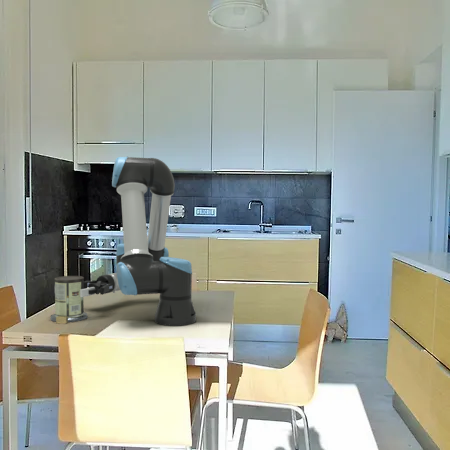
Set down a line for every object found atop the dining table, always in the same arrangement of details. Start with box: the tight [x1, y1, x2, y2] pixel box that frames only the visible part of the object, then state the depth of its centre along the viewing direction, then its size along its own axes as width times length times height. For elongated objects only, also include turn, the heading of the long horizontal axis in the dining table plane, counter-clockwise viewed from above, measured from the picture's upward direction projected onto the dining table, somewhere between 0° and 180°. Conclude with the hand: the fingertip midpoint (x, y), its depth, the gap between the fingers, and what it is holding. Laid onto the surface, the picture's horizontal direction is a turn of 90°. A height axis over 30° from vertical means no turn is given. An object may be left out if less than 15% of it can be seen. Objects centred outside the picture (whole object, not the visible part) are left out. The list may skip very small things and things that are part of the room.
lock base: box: [50, 311, 88, 325], centre depth 174 cm, size 16×13×2 cm
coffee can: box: [54, 275, 85, 318], centre depth 173 cm, size 10×10×14 cm
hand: (67, 291), depth 173 cm, fingers open, 13 cm apart
